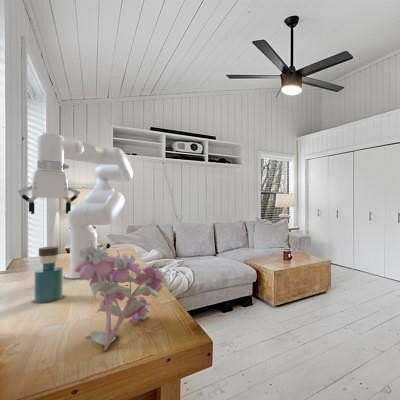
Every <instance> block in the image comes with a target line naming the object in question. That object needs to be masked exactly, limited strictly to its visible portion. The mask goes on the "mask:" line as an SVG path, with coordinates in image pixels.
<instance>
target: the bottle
mask: <svg viewBox="0 0 400 400" xmlns="http://www.w3.org/2000/svg"><path fill="white" fill-rule="evenodd" d="M58 262H59V254H58V255H53V256H39V264H42V268H39V269H36V270H34V282H33V283H34V289H33V290H34V291H33V292H34V293H33V294H34V295H33V301H34V303H37V304H43V303H45V304H46V303H51V302H55V301H58V300H62V298H63V285H64V284H63V283H64V282H63V280H64V279H63V276H64V275H63V274H64V272H63V267H61V266H56V263H58Z"/></svg>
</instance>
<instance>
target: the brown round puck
mask: <svg viewBox="0 0 400 400" xmlns="http://www.w3.org/2000/svg"><path fill="white" fill-rule="evenodd" d="M59 254H60V246H44V247H39V248H38V256H39V257H40V256H53V255H58V256H59Z"/></svg>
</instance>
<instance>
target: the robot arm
mask: <svg viewBox="0 0 400 400" xmlns="http://www.w3.org/2000/svg"><path fill="white" fill-rule="evenodd" d="M36 141H37V145H36V147H37V151H36V152H37V153H36V155H37V156H36V157H37V158H36V163H37V164H36V169H34V171H33V174H32V184H31V185H29V186H27V187H24V188H21V189H18V190H17V192H18V194H19V195H20V197H21V198H22V200H24V201H26V202H27V203H28V212H29V213H30V214H31V215H34V214H35V202H34V201H35V200H36V199H38V198H40V199H41V198H46V199H64V200H65V201H66V202H65V214H67V221H68V226H69V272H67V273H65V274H64V277H65V278H66V279H70V280H71V279H72V280H75V279H77V280H78V279H81V278H80V276H79V272H75V266H76V265H77V263H78V262H80V261H81V260H83V257H81V256H80V255H79V253H80V250H81V249H82V250H84V251H86V250H85V248H86V249H87V248H88V246H89V245H90V244H91V243H93V246H94V248H95V249H97V247H98V232H97V231H96V229H95V228H94V227H93V226H108V225H111V224H112V223H114V221H115V220H116V219H117V217H118V215H119V214H120V213H121V212H122V209H123V208H124V205H125V197H124V195H123V194H122V192H120V191H117V190H115V188H114V187H113V185H112V184H111V183H110V182H119V183H120V182H124V183H125V182H126V183H127V182H130V181H131V180H132V179H133V176H134V172H133V168H132V166H131V164H130V162H129V159H128V157H127V156H126V153H125V151H123V149H121V148H120V147H117V146H116V147H115V146H102V145H101V146H100V145H97V144H93V143H90V142H85V141H81V140H80V139H78V138H76V137H71V136H63V135H62V134H58V133H54V132H40V133H38V134H37V140H36ZM65 160H71V161H76V162H83V163H84V162H86V163H91V164H95V165H98V166H97V167H96V168H95V169H94V173H93V175H94V176H93V177H94V187H93V188H92V189H91V190H90V191H89V192H88V193H87V194H86V195H85V197H84V198H83V202H82V203H81V202H80V203H74V204H73V205H72V203H73V202H74V201H75V200H76V199H77V198H78V197H79V195H80V194H81V191H79V190H77V189H75V188H72V187H70V186H69V179H68V174H67V171H65V170H70V165H69V164H65ZM28 191H31V194H32V196H31V197H29V196H27V194H26V193H27V192H28ZM69 192H71V193H74V194H73V195H72V197H69V196H68V195H69ZM81 269H82V268H81ZM80 271H81V270H80Z"/></svg>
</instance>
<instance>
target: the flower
mask: <svg viewBox="0 0 400 400" xmlns="http://www.w3.org/2000/svg"><path fill="white" fill-rule="evenodd" d="M85 250H86V251H84V250H82V249H81V250H80V253H79V255H80V256H81V257H83V260H81V261H80V262H78V263H77V265H76V266H75V272H79V276H80V278H79V279H81V280H85V281H89V287H90V290H91V292H92V294H93V298H95V297H96V295H97V293H98V292H99V295H100V297H102V298H103V299H102V300H101V301H100V303H99V308H98V309H97V311H96V314H98V313H99V312H105V315H106V325H105V329H97V330H91V331H89V332H88V333H89V338H91V340H92V341H93V342H94V343H95V342H96V343H98V344H100V345H103V346H104V348H103V350H104V351H108V348H109V347H110V345H111V343H113V342H114V341H115V340H116V339H117V337H116V334H117V333H118V331H119V328H120V326H121V325H122V323H123V322H124V320H125V319H127V320H128V319H129V320H128V324H134V323H138V322H139V320H141V321H144V320H146V319H147V315H148V314H150V313H151V312H152V309H151V308H149V306H150V305H151V304H150V303H148V301H147V298H145V297H150V295H151V296H152V297H155V300H158V297H159V293H160V292H161V289H162V288H163V284H165V283H166V282H167V280H168V278H166V277H165V276H167V271H162V270H159V269H160V266H157V267H153V266H150V265H146V266H142V267H141V266H140V264H139V263H138V262H135V261H136V260H137V258H136V256H135V255H134V254H131V255H130V256H129V253H128V252H127V253H123V254H122V257H121V255H120V250H117V254H118V255H116V256H111V255H110V256H109V253H108V252H107V244H104V245H103V247H102V249H101V246H97V249H95V248H94V246H93V243H91V244H90V245H89V246H88V248H87V249H86V248H85ZM81 268H82V269H81ZM115 268H116V269H115ZM80 270H81V271H80ZM130 272H133V273H134V274H136V276H135V278H134V277H133V276H130ZM141 272H144V273H141ZM127 282H128V283H129V287H125V286H122V285H120V284H124V283H127ZM119 283H120V284H119ZM132 283H133V284H136V285H138V286H137V287H136V288H135V289H134V291H133V292H132ZM143 285H144V286H143ZM140 295H141V296H140ZM138 296H139V298H138V299H137V297H138ZM125 298H128V299H127V300H126V301H125V302H126V304H125V306H124V308H122V309H121V307H120V305H119V303H118V300H119V301H123V300H125ZM113 303H114V304H113ZM112 315H113V316H114V317H118V319H117V322H116V324H115V326H114V327H113V329H112Z"/></svg>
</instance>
